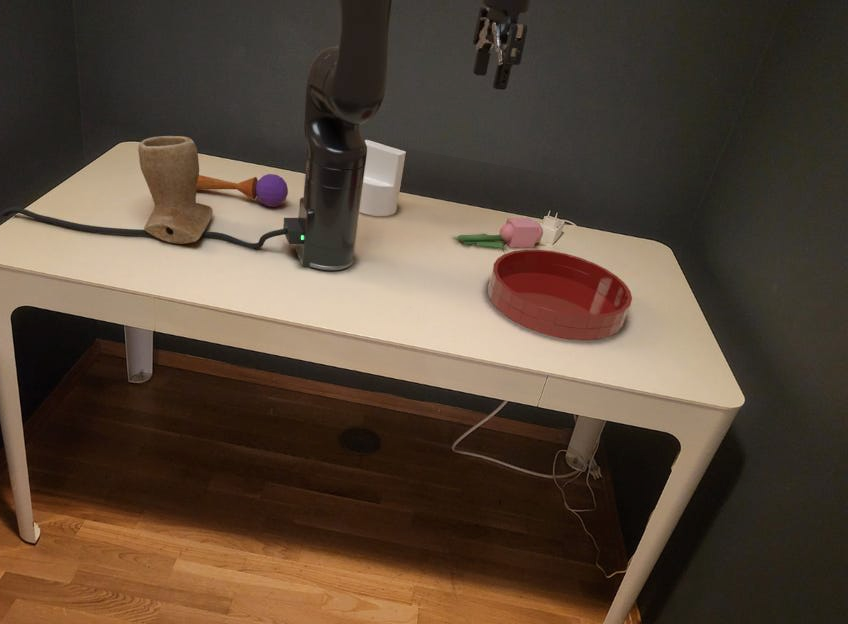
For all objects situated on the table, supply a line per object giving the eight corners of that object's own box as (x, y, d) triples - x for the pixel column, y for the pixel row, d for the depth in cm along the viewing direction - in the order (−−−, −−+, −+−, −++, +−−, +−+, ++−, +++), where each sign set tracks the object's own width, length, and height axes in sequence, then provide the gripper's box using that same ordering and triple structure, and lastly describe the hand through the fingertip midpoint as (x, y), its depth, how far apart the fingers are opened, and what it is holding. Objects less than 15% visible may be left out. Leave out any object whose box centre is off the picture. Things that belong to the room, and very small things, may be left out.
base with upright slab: (343, 206, 145) (350, 146, 139) (365, 194, 152) (373, 136, 146) (383, 220, 142) (392, 159, 136) (404, 207, 149) (414, 148, 142)
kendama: (190, 162, 143) (291, 173, 141) (190, 193, 145) (290, 205, 143) (178, 166, 137) (284, 178, 135) (178, 199, 140) (282, 210, 138)
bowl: (523, 344, 111) (530, 319, 108) (467, 273, 128) (472, 249, 126) (649, 339, 117) (659, 314, 115) (580, 271, 135) (587, 249, 132)
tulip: (462, 249, 136) (467, 228, 134) (451, 235, 140) (456, 215, 138) (545, 249, 141) (551, 228, 139) (531, 236, 146) (537, 216, 143)
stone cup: (152, 205, 134) (150, 122, 126) (218, 214, 134) (220, 132, 126) (125, 240, 121) (120, 151, 113) (198, 251, 122) (198, 162, 114)
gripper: (472, -34, 122) (453, 69, 131) (509, -19, 111) (485, 92, 120) (514, -29, 124) (492, 72, 133) (553, -14, 113) (526, 95, 122)
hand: (489, 81), depth 126 cm, fingers open, 8 cm apart
